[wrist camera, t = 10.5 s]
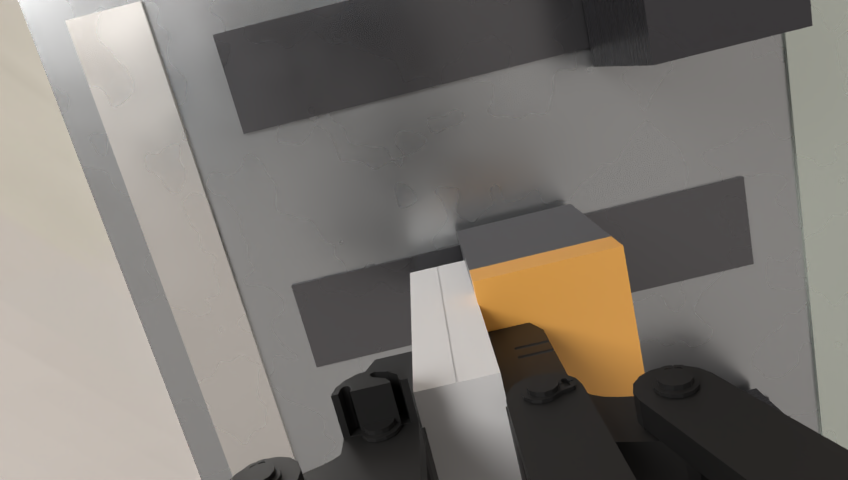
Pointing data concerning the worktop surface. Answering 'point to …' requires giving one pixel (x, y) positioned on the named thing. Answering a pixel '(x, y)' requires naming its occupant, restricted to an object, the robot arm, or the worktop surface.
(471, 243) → the block
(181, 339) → the panel
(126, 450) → the worktop surface
